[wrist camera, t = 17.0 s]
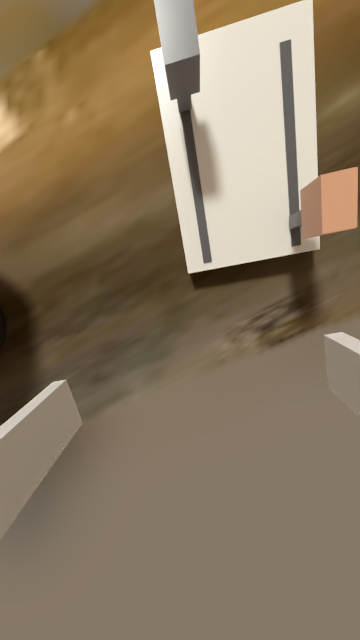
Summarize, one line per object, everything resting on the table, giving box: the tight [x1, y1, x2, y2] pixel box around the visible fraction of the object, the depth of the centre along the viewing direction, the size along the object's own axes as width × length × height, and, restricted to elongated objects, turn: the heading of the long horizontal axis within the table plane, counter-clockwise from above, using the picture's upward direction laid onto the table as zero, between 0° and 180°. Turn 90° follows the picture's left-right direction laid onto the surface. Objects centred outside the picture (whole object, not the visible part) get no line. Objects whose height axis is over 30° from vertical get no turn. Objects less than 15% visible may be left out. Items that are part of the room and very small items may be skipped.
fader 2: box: [289, 167, 358, 239], centre depth 24 cm, size 3×5×9 cm, turn 11°
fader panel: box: [150, 0, 320, 274], centre depth 28 cm, size 18×26×3 cm
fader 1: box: [154, 0, 200, 113], centre depth 21 cm, size 3×5×9 cm, turn 11°
